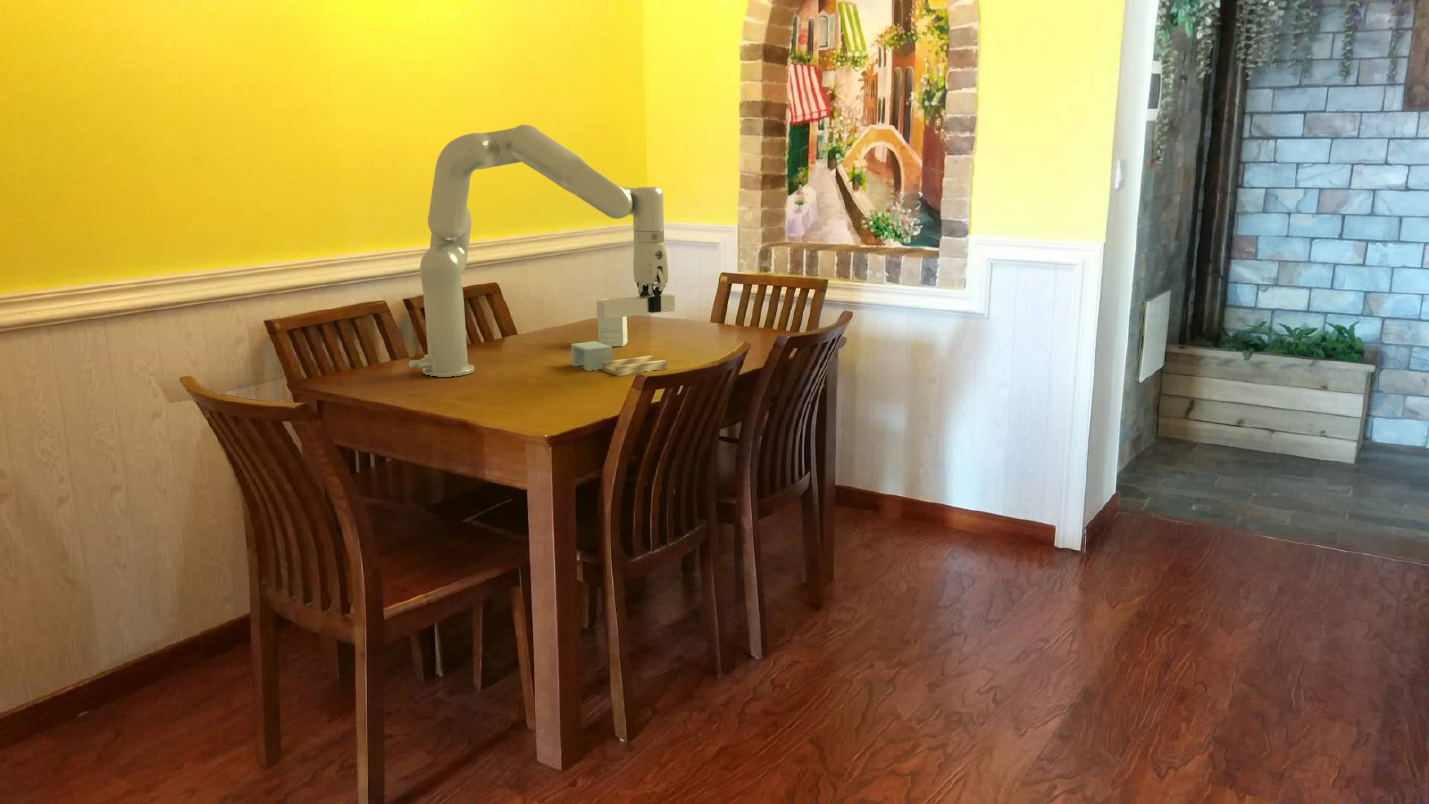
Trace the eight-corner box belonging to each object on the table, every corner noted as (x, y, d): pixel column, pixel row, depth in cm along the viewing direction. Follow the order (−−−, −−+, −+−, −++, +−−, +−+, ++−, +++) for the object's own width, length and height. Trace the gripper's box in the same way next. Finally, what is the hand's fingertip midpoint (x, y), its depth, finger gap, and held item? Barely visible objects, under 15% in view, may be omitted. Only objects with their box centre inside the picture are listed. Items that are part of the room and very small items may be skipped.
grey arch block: (588, 371, 262) (587, 349, 260) (571, 364, 269) (570, 344, 268) (612, 367, 265) (612, 346, 264) (595, 361, 273) (595, 341, 272)
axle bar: (604, 318, 253) (604, 302, 252) (597, 316, 256) (596, 300, 255) (674, 311, 264) (674, 295, 263) (666, 309, 267) (666, 293, 266)
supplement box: (628, 342, 300) (627, 298, 297) (623, 347, 293) (622, 302, 290) (603, 341, 301) (601, 298, 298) (597, 346, 294) (596, 302, 291)
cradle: (618, 376, 256) (617, 367, 255) (602, 370, 262) (602, 361, 262) (666, 369, 263) (666, 360, 263) (650, 363, 270) (650, 355, 269)
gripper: (679, 239, 253) (680, 313, 257) (645, 234, 266) (646, 305, 271) (652, 240, 249) (654, 316, 253) (619, 236, 262) (621, 308, 267)
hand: (650, 310), depth 262 cm, fingers closed on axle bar, 4 cm apart
